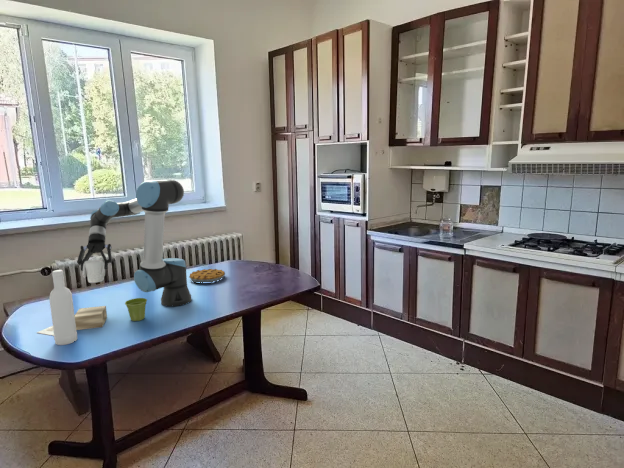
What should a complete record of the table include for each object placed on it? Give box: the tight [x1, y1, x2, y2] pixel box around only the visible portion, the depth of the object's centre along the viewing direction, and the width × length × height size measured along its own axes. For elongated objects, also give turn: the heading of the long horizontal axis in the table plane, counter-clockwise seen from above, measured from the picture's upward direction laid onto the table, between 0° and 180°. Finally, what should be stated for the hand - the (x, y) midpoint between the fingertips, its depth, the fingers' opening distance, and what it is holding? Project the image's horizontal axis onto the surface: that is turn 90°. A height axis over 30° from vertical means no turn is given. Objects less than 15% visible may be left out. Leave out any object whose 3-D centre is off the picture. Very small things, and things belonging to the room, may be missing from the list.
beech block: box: [74, 305, 108, 331], centre depth 178 cm, size 11×11×6 cm
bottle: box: [48, 269, 78, 346], centre depth 159 cm, size 8×8×30 cm
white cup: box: [84, 258, 105, 284], centre depth 191 cm, size 8×8×10 cm
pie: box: [188, 268, 226, 283], centre depth 244 cm, size 22×22×5 cm
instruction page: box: [36, 325, 54, 337], centre depth 171 cm, size 12×9×1 cm
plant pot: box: [124, 297, 148, 322], centre depth 183 cm, size 9×9×9 cm
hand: (93, 275), depth 188 cm, fingers closed on white cup, 8 cm apart
